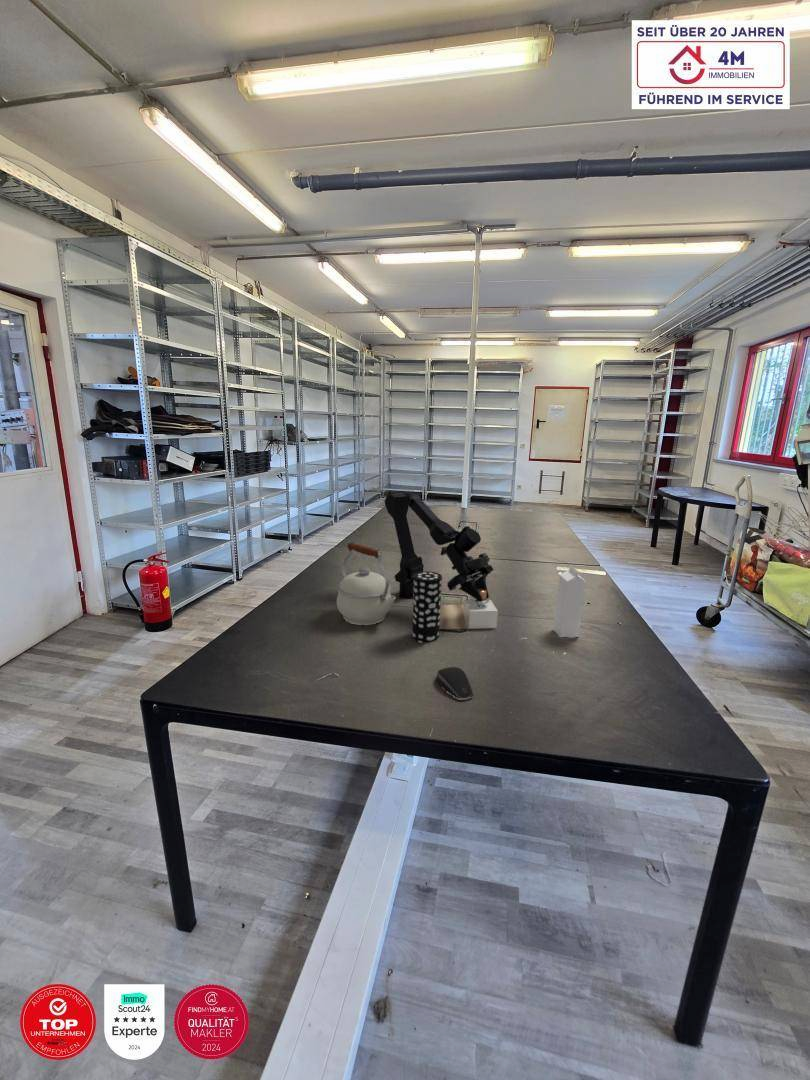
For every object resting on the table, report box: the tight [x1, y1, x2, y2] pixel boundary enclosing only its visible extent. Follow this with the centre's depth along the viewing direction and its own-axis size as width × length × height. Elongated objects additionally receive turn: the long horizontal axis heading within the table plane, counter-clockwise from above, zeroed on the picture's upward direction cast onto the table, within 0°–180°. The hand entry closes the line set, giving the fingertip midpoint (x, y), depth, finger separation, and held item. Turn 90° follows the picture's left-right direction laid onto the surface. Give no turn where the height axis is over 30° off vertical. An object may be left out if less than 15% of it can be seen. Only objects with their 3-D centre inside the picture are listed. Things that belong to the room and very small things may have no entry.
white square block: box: [463, 599, 499, 629], centre depth 145 cm, size 9×9×6 cm
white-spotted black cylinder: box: [411, 570, 443, 644], centre depth 133 cm, size 8×8×20 cm
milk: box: [552, 565, 587, 638], centre depth 137 cm, size 6×6×22 cm
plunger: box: [472, 589, 490, 607], centre depth 144 cm, size 5×5×9 cm
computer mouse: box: [436, 666, 474, 698], centre depth 110 cm, size 7×12×4 cm, turn 23°
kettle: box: [336, 541, 396, 626], centre depth 145 cm, size 25×18×25 cm
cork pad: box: [439, 604, 480, 630], centre depth 150 cm, size 19×19×1 cm
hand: (484, 599), depth 143 cm, fingers closed on plunger, 3 cm apart
